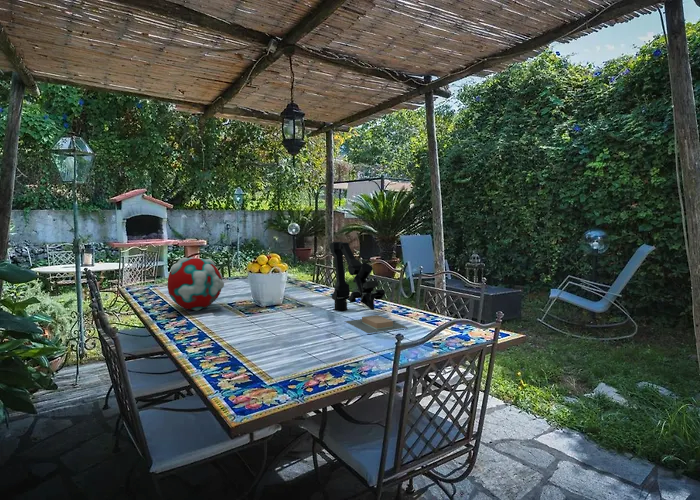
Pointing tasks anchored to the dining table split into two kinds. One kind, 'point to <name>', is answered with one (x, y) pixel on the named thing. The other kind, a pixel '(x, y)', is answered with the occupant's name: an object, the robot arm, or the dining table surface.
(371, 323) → the tile
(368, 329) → the mat
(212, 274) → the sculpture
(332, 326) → the dining table surface
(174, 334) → the dining table surface
